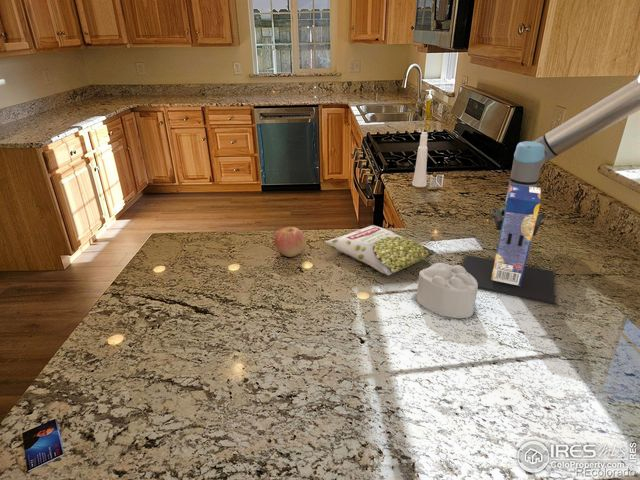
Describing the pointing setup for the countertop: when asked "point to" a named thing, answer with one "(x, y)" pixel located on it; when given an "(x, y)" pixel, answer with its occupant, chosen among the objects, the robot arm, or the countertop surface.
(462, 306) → the lumpy-topped squat cylinder
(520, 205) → the beverage box
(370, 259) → the frozen beans
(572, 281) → the countertop surface
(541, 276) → the mat
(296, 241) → the apple
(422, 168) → the cosmetic bottle
